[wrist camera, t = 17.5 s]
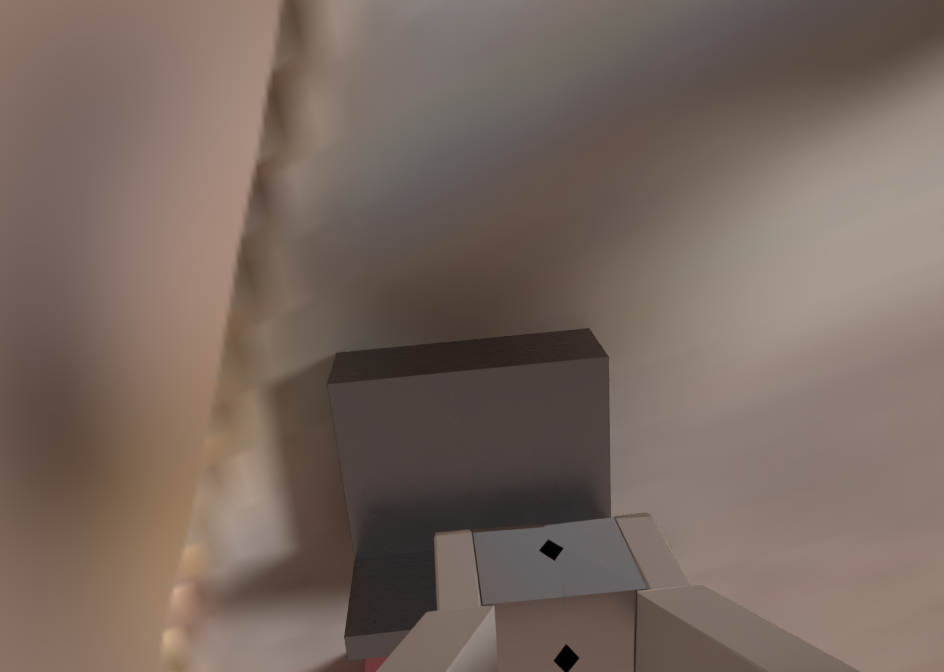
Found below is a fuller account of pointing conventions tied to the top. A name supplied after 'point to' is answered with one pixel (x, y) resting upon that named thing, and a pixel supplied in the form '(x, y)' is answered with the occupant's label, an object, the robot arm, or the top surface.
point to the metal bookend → (460, 457)
